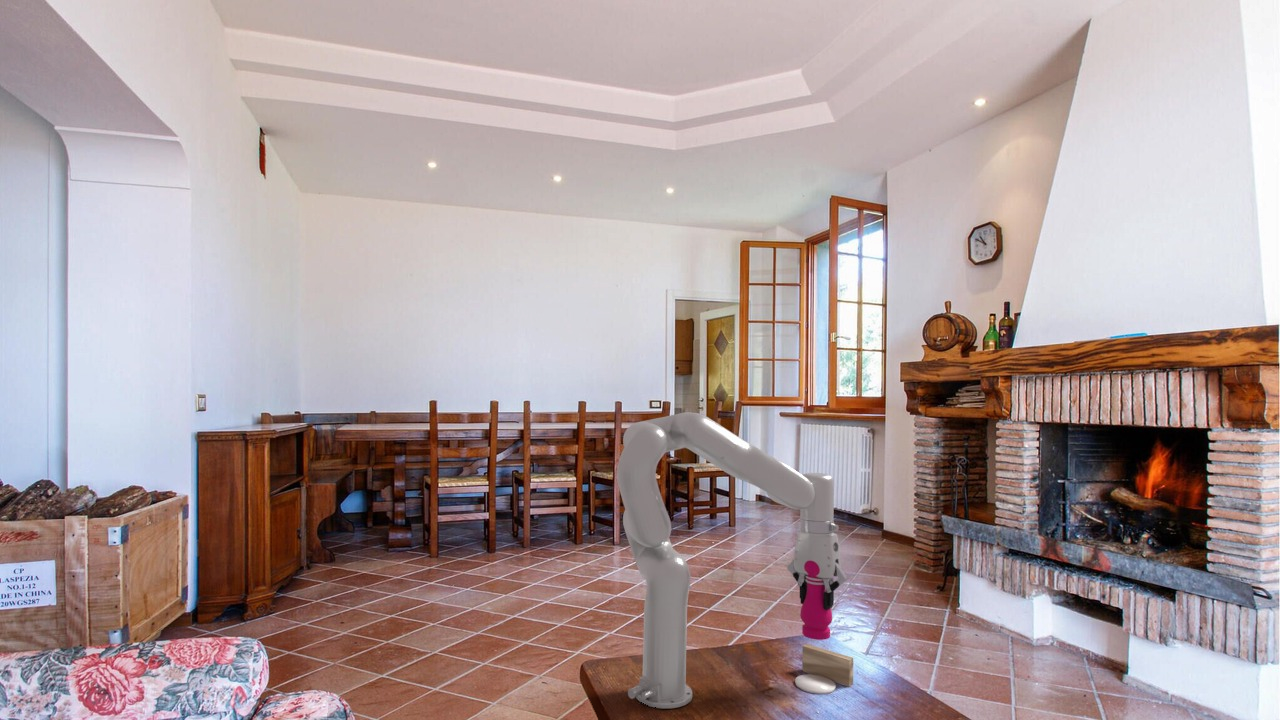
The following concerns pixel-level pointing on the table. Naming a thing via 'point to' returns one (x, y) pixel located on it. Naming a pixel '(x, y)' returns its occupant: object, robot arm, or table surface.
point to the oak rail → (827, 664)
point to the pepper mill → (815, 606)
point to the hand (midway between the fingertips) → (816, 604)
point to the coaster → (815, 684)
